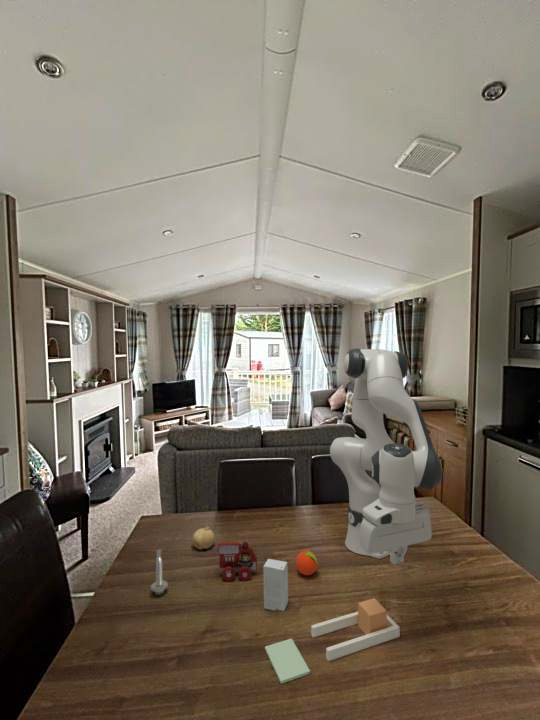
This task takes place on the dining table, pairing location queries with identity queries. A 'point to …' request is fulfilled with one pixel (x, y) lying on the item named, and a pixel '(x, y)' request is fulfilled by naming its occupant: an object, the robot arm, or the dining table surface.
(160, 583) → the screw
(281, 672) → the pad
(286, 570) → the skincare box
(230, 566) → the toy fire truck
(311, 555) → the clementine
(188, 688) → the dining table surface
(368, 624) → the block
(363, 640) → the chute
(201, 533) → the onion
